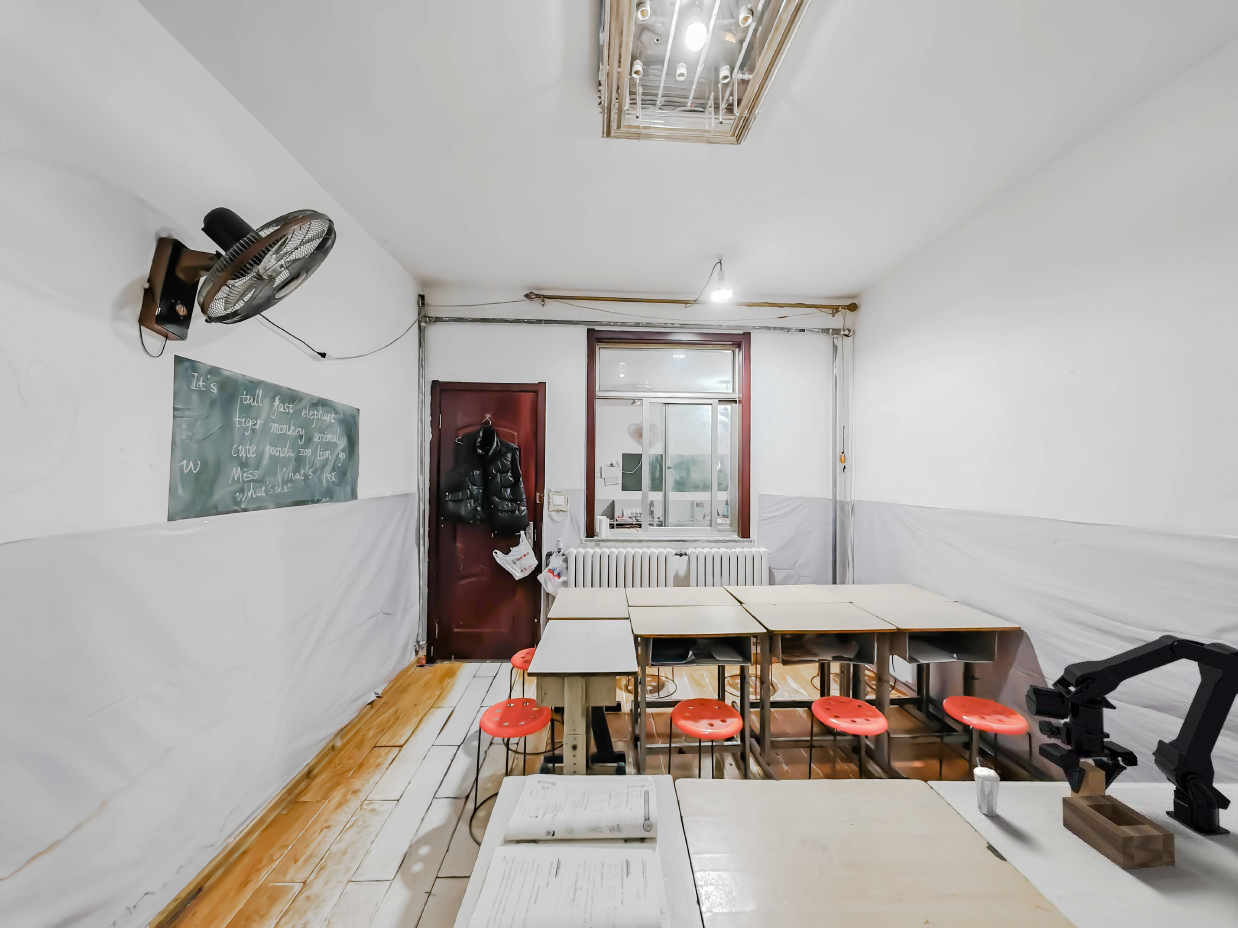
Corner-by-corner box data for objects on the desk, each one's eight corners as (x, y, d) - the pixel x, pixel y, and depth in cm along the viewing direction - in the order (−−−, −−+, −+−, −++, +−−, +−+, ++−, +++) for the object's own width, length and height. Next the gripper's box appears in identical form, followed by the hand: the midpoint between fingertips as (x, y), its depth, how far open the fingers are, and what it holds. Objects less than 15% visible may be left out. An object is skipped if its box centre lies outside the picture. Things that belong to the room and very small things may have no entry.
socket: (1110, 822, 100) (1109, 794, 100) (1175, 865, 89) (1174, 833, 89) (1063, 825, 99) (1062, 796, 99) (1122, 868, 88) (1121, 836, 88)
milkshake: (988, 802, 106) (987, 758, 106) (1005, 819, 101) (1004, 772, 101) (967, 801, 106) (966, 756, 107) (983, 817, 101) (982, 771, 101)
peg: (1086, 795, 109) (1085, 760, 109) (1105, 807, 105) (1104, 771, 105) (1071, 796, 108) (1070, 761, 109) (1089, 808, 104) (1088, 772, 105)
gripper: (1085, 704, 116) (1087, 768, 115) (1016, 707, 114) (1017, 771, 114) (1138, 728, 105) (1141, 799, 104) (1062, 731, 103) (1064, 803, 103)
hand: (1088, 791), depth 106 cm, fingers open, 6 cm apart
